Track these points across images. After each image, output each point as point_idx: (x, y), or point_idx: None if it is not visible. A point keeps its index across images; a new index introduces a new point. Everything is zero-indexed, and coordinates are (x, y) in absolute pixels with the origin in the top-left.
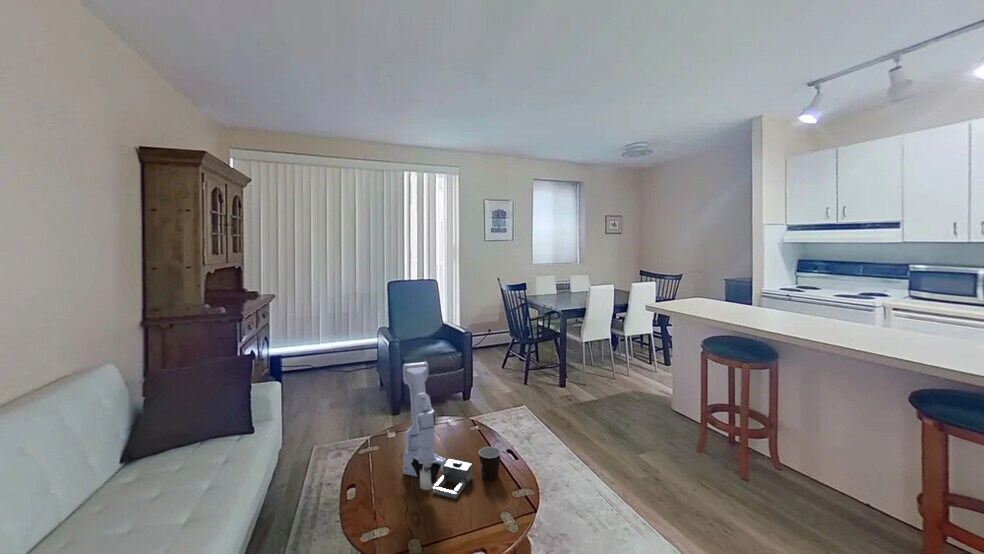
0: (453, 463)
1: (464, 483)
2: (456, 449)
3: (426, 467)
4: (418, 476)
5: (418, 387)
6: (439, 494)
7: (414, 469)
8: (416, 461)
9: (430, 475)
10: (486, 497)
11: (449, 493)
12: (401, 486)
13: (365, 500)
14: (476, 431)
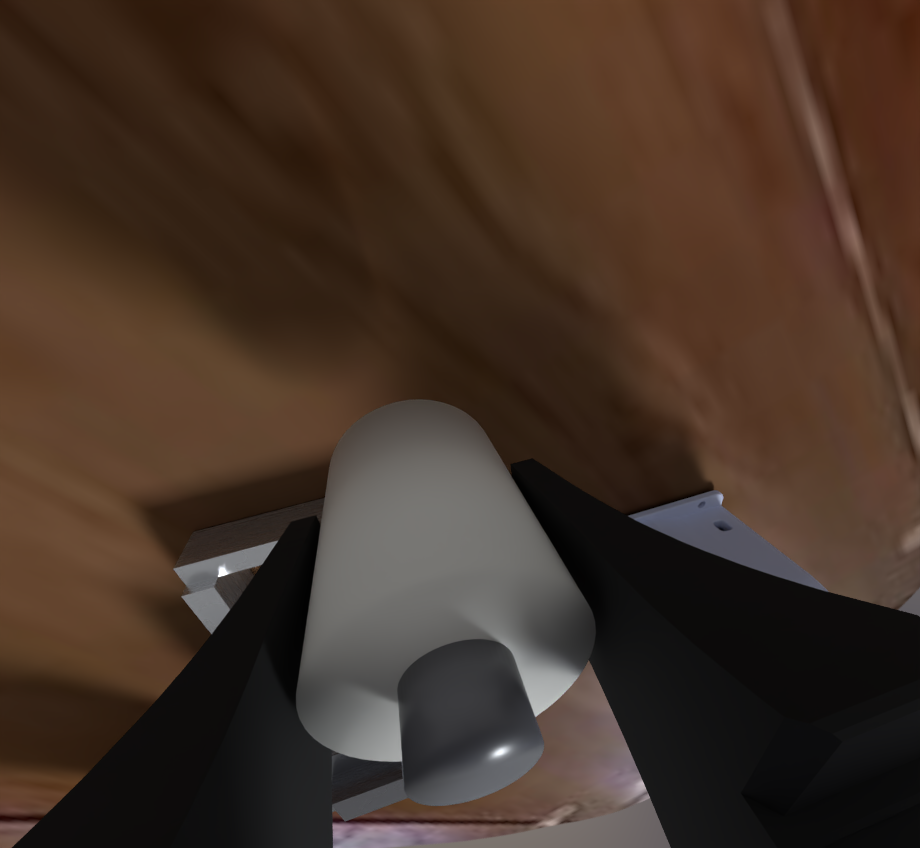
0: (394, 773)
1: None
2: (544, 735)
3: (459, 758)
4: (548, 491)
5: None
6: None
7: (701, 551)
8: (859, 815)
9: (307, 623)
10: (8, 664)
11: (247, 539)
12: (667, 398)
13: (883, 79)
14: (536, 815)
